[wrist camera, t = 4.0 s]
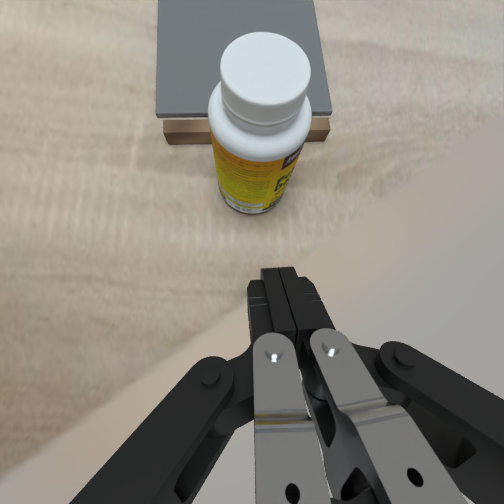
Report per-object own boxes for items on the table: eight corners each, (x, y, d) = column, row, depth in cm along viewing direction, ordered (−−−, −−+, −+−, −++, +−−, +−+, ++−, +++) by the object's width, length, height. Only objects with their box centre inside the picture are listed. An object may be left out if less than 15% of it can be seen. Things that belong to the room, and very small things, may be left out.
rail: (168, 144, 20) (163, 132, 19) (168, 132, 20) (163, 120, 19) (324, 141, 21) (330, 129, 20) (322, 129, 21) (328, 117, 20)
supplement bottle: (273, 224, 19) (311, 139, 9) (209, 204, 19) (179, 96, 9) (291, 168, 20) (342, 38, 10) (231, 148, 20) (225, 1, 11)
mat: (157, 117, 21) (155, 113, 20) (159, 1, 24) (158, -4, 23) (330, 114, 22) (332, 111, 21) (311, 5, 25) (313, 0, 25)
